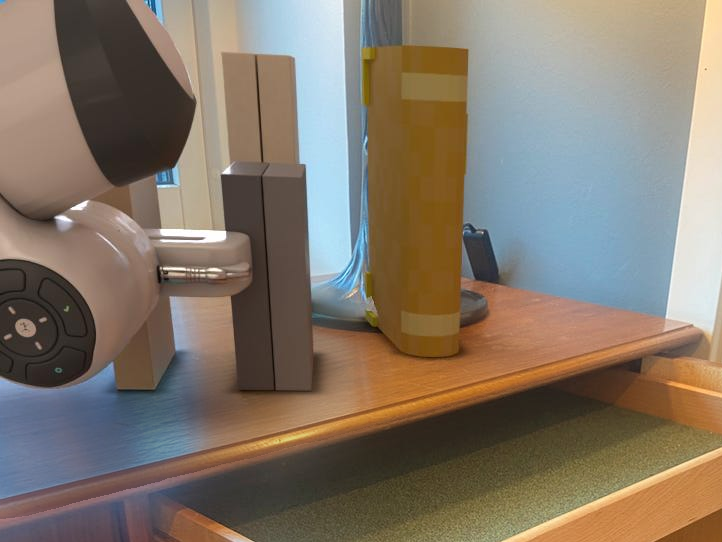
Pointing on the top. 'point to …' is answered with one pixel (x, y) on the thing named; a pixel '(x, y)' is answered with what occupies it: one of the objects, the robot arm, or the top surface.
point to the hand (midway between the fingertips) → (127, 242)
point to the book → (416, 193)
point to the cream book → (156, 337)
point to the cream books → (261, 107)
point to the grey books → (272, 275)
